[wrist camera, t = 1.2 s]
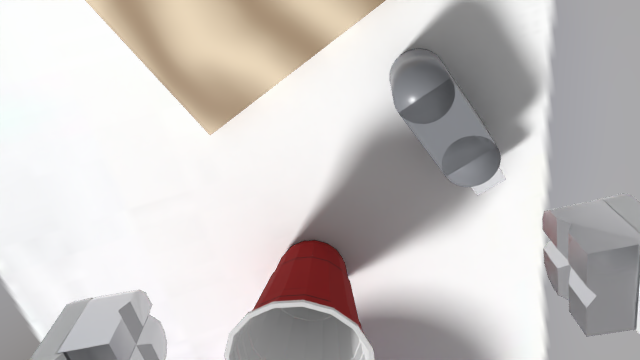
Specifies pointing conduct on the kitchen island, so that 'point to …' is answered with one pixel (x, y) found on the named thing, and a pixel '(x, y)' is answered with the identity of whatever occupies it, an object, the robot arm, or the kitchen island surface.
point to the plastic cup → (303, 312)
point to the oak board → (227, 45)
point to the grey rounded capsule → (444, 121)
